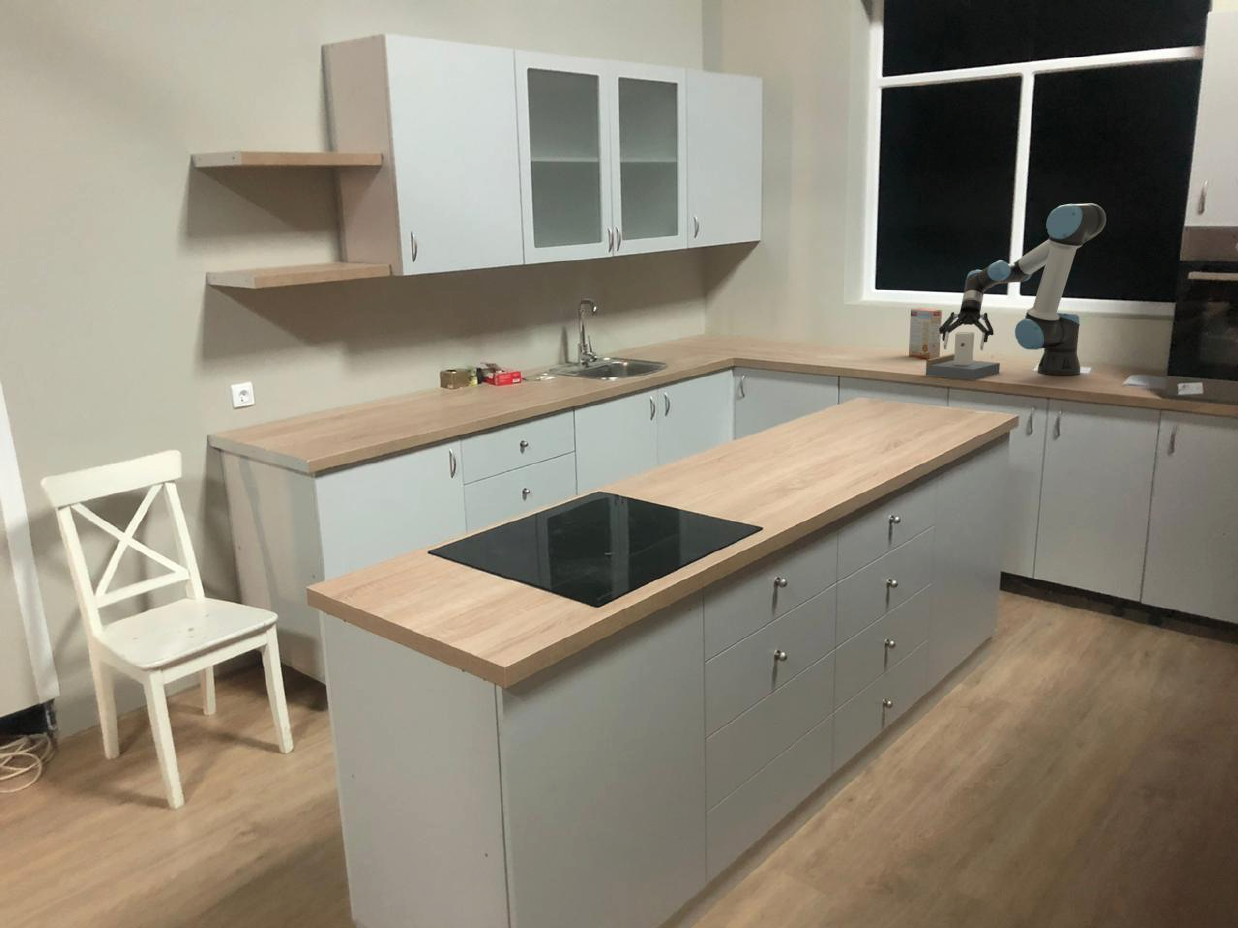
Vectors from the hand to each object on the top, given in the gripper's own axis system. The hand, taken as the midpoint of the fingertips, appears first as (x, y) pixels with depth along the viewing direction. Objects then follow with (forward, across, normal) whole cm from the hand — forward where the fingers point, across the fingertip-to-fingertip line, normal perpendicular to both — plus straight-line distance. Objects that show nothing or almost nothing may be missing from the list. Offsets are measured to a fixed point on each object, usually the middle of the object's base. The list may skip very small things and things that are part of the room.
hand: (962, 347), depth 379 cm
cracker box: (-22, +23, -38) cm, 49 cm away
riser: (+6, 0, -9) cm, 11 cm away
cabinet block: (+3, 0, -6) cm, 7 cm away
